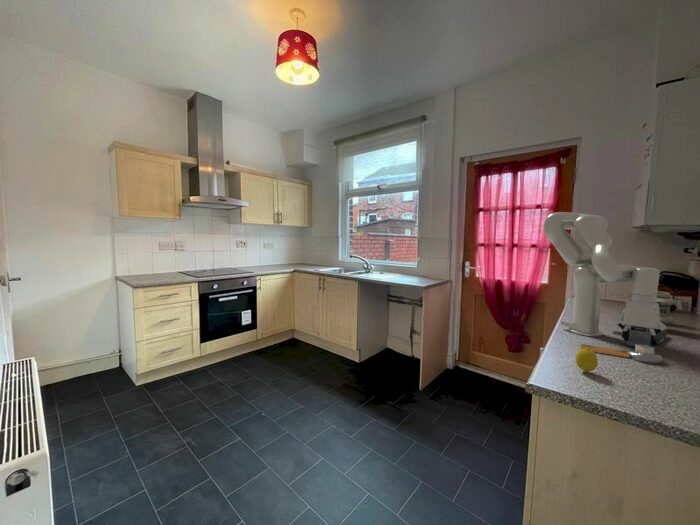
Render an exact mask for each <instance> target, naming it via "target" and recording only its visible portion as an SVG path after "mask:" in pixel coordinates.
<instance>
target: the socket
mask: <svg viewBox="0 0 700 525" xmlns="http://www.w3.org/2000/svg"><path fill="white" fill-rule="evenodd" d="M651 334H652V333H651V332H650V331H649V330H648V329H647V328H641V327H634V326H630V327H629V329H628V340H627V341H625V340H624V339H623V340H624V342H625V344H626V345H627V346H629V347H635V344H636V345H647V346H650V347H651V345H650V341H651Z"/></svg>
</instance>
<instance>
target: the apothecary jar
mask: <svg viewBox="0 0 700 525" xmlns="http://www.w3.org/2000/svg"><path fill="white" fill-rule="evenodd" d="M656 303H658V304H659V320H660V321H661V322H662V323H663V324H664V325H665V326H666V325H669V324H672V323H673V322H674V320H675V319H674V316H672V315H671V308H672V306H673V305H675V303H676V301H675V300H674V298H672V297H671V293H670V292H666V291H660V290H657V296H656ZM659 327H660V325H659ZM659 327H658V328H659ZM647 329H648V328H647ZM663 331H665V332H666V333H668V332H667V331H669V332H670V330H669V329H668V328H667V329H665V330H663Z"/></svg>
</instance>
